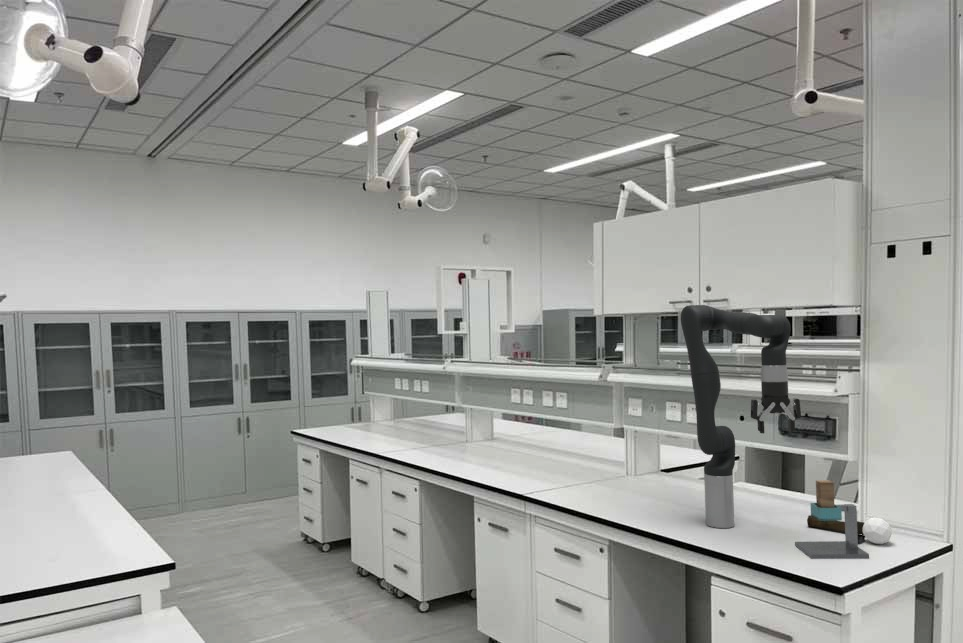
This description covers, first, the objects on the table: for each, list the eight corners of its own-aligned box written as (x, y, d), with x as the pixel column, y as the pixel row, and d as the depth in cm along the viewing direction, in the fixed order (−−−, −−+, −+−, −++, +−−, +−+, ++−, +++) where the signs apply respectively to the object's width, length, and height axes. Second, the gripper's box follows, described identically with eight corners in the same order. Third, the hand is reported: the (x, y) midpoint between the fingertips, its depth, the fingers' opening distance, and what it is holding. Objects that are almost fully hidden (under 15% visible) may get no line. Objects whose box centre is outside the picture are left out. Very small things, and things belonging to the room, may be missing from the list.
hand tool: (806, 528, 226) (805, 514, 226) (811, 525, 228) (811, 511, 228) (867, 540, 211) (867, 525, 211) (872, 537, 214) (872, 523, 214)
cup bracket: (795, 545, 207) (793, 500, 208) (849, 545, 206) (847, 500, 206) (811, 558, 195) (809, 510, 196) (869, 558, 194) (867, 510, 194)
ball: (885, 553, 206) (898, 537, 201) (858, 543, 208) (870, 526, 203) (883, 535, 212) (896, 518, 207) (856, 525, 214) (868, 508, 209)
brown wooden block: (816, 514, 203) (815, 480, 203) (829, 513, 203) (828, 480, 203) (822, 517, 199) (820, 482, 200) (834, 517, 199) (833, 482, 199)
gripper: (793, 378, 213) (795, 430, 212) (746, 379, 214) (748, 431, 213) (803, 380, 205) (805, 434, 205) (754, 381, 206) (756, 435, 206)
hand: (776, 432), depth 209 cm, fingers open, 8 cm apart
